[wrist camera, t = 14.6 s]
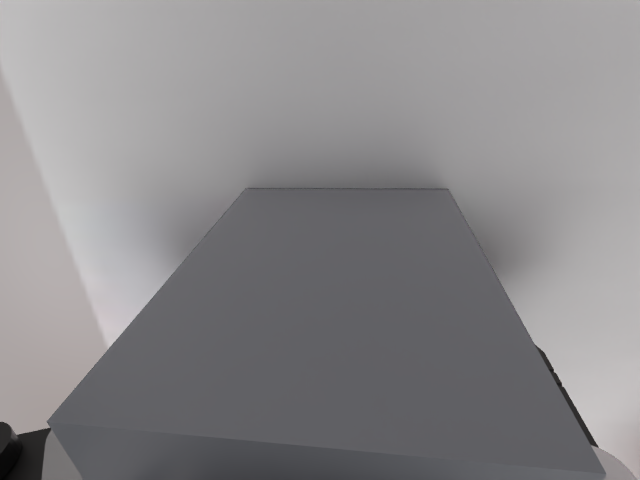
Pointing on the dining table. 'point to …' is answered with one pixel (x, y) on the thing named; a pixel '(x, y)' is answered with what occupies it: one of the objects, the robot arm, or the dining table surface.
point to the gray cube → (327, 356)
